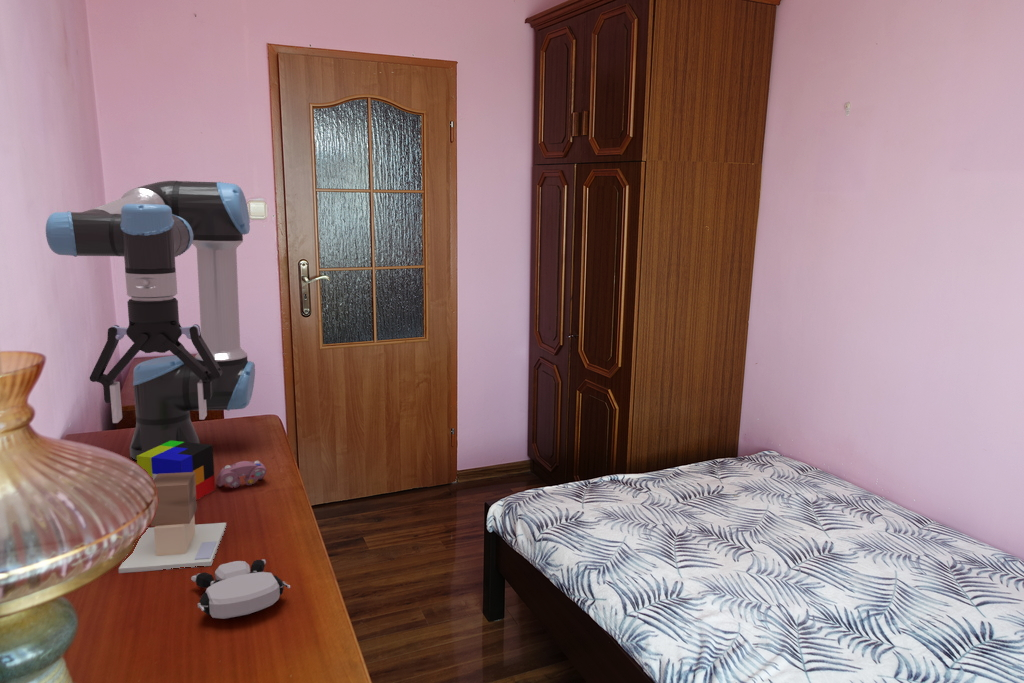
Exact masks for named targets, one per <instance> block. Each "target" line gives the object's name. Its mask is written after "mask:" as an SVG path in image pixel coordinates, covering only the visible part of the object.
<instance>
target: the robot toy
mask: <svg viewBox="0 0 1024 683" xmlns="http://www.w3.org/2000/svg"><path fill="white" fill-rule="evenodd" d="M266 563H267V561H266V559H256V560H253V562H252V564H251V565H250V564H249V563H247V562H246V561H245V560H244V561H243V560H236V561H235V560H233V561H229V562H227V563H221V564H220V565H219V566H218V567H217V568H216V570H215V571H214V577H213V574H210V573H208V572H200V573H196V574H195V575H194V574H193V575H192V576H191V577H190V579H191V581H192V582H193V583H196V586H197V587H199V588H202V589H206V590H205V592H203V594H201V597H200V599H199V602H198V603H197V609H200V610H201V612H204V613H205V614H206V615H210V616H211V617H212V618H213V619H225V620H226V619H230V618H235V617H241V616H247V615H250V614H252V613H255V612H259V611H262V610H264V609H266V608H269V607H271V606H273V605H274V604H275V603H276V602H277V601H279V599H280V596H282V594H284V587H286V588H287V589H290V588H291V585H290V584H287V583H286V581H283V580H282V579H281V578H279V577H278V576H277V575H273V573H272V572H267V571H265V566H266Z"/></svg>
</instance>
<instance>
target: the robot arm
mask: <svg viewBox="0 0 1024 683" xmlns="http://www.w3.org/2000/svg"><path fill="white" fill-rule="evenodd" d="M250 223H251V222H250V213H249V208H248V203H247V199H246V196H245V193H244V191H243V190H242V188H241V187H240V186H239V185H237V184H235V183H230V182H223V181H222V182H221V181H189V180H188V181H187V180H183V181H182V180H164V181H158V182H153V183H148V184H145V185H141V186H137V187H136V188H131V189H130V190H128V191H126V192H125V193H124V194H123V195H122V196H121V198H119V199H115V200H114V201H111V202H108V203H105V204H103V205H100V206H96V207H94V208H91V209H88V210H85V211H81V212H75V211H69V210H68V211H62V212H61V211H59V212H58V211H57V212H53V213H51V214H50V215H48V218H47V219H46V224H45V237H46V241H47V244H48V247H49V249H50V250H51V251H52V252H53V253H54V254H56V255H60V256H69V257H70V256H73V257H122V258H124V261H123V262H124V275H125V287H126V295H127V297H130V298H129V299H128V300H127V314H128V315H127V316H128V326H127V327H122V326H120V325H118V324H114V325H112V326H110V327H109V328H108V329H107V336H106V337H107V340H106V342H105V345H104V346H103V349H102V351H101V353H100V354H99V357H98V359H97V361H96V363H95V365H94V368H93V369H92V372H91V374H90V376H89V380H90V381H91V382H92V383H98V384H99V383H100V384H101V385H102V387H103V398H104V402H105V403H106V404H111V405H110V407H111V419H112V424H118V423H119V422H120V421H121V420H122V419H123V410H122V409H123V408H122V407H123V406H122V398H121V395H122V394H121V384H120V381H115V380H116V379H117V377H118V376H119V375H120V374H121V373H122V371H123V370H124V369H125V368H126V367H127V366H128V364H129V363H130V362H131V361H132V360H133V358H134V357H136V356H137V354H138V353H139V352H144V353H145V354H151V353H159V354H165V353H167V352H171V353H172V354H173V355H168V356H167V355H166V356H159V357H156V358H152V359H151V358H150V359H148V360H147V359H146V360H144V361H142V362H141V361H140V363H138V364H136V365H135V367H134V368H133V372H132V373H133V381H132V386H133V394H134V409H135V418H136V419H135V422H136V424H135V429H134V431H133V436H132V437H131V442H130V445H129V456H130V458H131V457H132V458H133V459H135V460H137V456H138V455H140V454H142V453H144V452H146V451H149V450H151V449H153V448H155V447H158V446H160V445H162V444H164V443H166V442H169V441H180V442H189V443H199V444H200V439H199V436H198V434H197V432H196V430H195V427H194V425H193V422H192V420H191V411H193V412H194V411H197V412H198V414H199V415H198V417H199V420H205V419H206V417H207V415H208V411H227V412H229V411H231V410H243V409H246V408H247V407H248V405H249V404H250V402H251V400H252V395H253V391H254V385H255V379H256V378H255V377H256V364H255V362H253V361H251V360H248V352H246V351H245V350H244V349H242V348H241V338H240V337H241V334H240V332H241V331H240V309H239V306H240V305H239V284H238V282H239V281H238V258H237V248H238V247H239V246H240V245H241V244H242V243H243V242H244V237H243V236H245V235H247V234H249V233H250V230H251V229H250V228H251V226H250ZM192 245H193V246H194V247H195V249H196V259H197V260H196V261H197V280H198V298H199V299H198V300H199V301H198V302H199V321H200V325H199V324H193V325H191V326H181V323H180V318H179V316H180V315H179V300H178V299H177V298H176V297H175V296H176V295H177V294H178V283H177V282H178V280H177V272H176V271H177V269H176V268H177V267H176V257H178V256H181V255H183V254H185V252H187V251H188V250H189V249H190V248H191V246H192ZM126 335H127V337H128V338H129V340H131V342H133V344H132V345H131V346H130V347H129V349H128V350H127V351H126V352H125V353H124V355H123V356H122V357H121V358H120V359H119V360H118V362H116V364H115V365H114V366H113V367H112V369H111V370H109V372H108V373H107V374H105V371H106V369H107V367H108V365H109V363H110V361H111V359H112V357H113V354H114V353H115V350H116V348H117V346H118V344H119V342H120V340H122V339H123V338H124V336H126ZM182 335H185V337H186V338H187V340H191V342H192V344H193V346H194V348H195V350H196V351H197V353H196V355H195V357H194V355H193V354H191V353H190V352H189V351H188V350H187V348H185V346H184V345H183V344H182V342H180V341H179V339H180V338H181V337H182ZM132 458H131V459H132ZM133 459H132V460H133ZM135 460H134V461H135Z"/></svg>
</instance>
